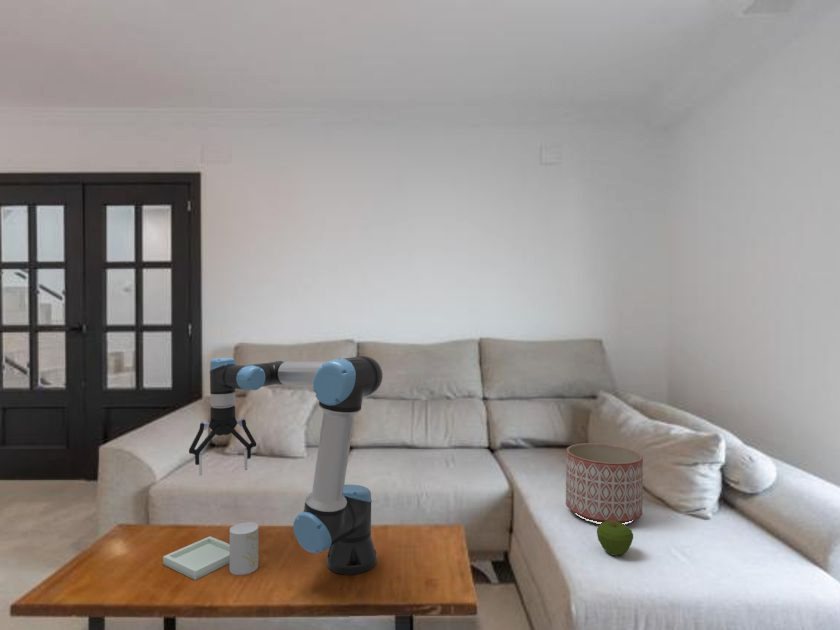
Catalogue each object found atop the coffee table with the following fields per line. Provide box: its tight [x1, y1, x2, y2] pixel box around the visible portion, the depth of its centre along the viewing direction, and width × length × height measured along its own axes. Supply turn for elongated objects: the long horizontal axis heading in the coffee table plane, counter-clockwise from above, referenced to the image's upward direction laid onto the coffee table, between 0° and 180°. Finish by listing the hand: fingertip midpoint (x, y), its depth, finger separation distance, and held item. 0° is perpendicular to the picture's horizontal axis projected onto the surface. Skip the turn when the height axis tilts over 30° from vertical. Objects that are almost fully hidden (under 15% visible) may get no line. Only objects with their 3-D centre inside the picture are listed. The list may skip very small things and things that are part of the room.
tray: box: [162, 535, 230, 581], centre depth 155 cm, size 16×16×2 cm
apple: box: [596, 521, 634, 556], centre depth 161 cm, size 11×10×10 cm
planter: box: [565, 442, 644, 523], centre depth 192 cm, size 27×27×24 cm
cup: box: [229, 521, 259, 576], centre depth 151 cm, size 8×8×12 cm
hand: (223, 471), depth 162 cm, fingers open, 13 cm apart
